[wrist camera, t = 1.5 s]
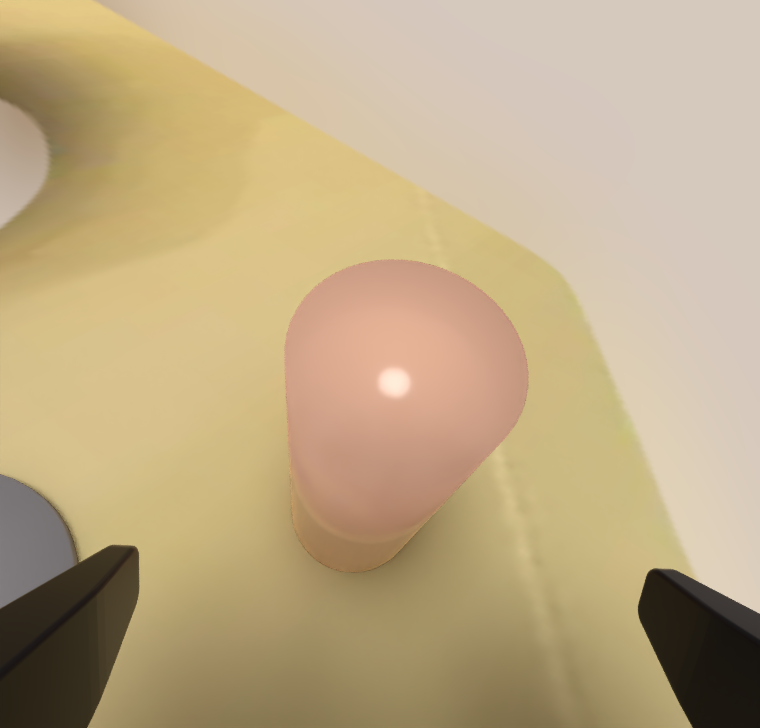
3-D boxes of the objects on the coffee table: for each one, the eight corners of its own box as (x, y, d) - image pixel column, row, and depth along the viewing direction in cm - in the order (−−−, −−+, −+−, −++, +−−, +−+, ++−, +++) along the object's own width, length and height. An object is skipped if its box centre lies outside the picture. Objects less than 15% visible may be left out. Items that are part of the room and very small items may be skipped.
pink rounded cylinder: (434, 541, 20) (575, 420, 10) (317, 594, 19) (340, 516, 8) (384, 433, 22) (457, 240, 12) (275, 472, 21) (251, 289, 10)
